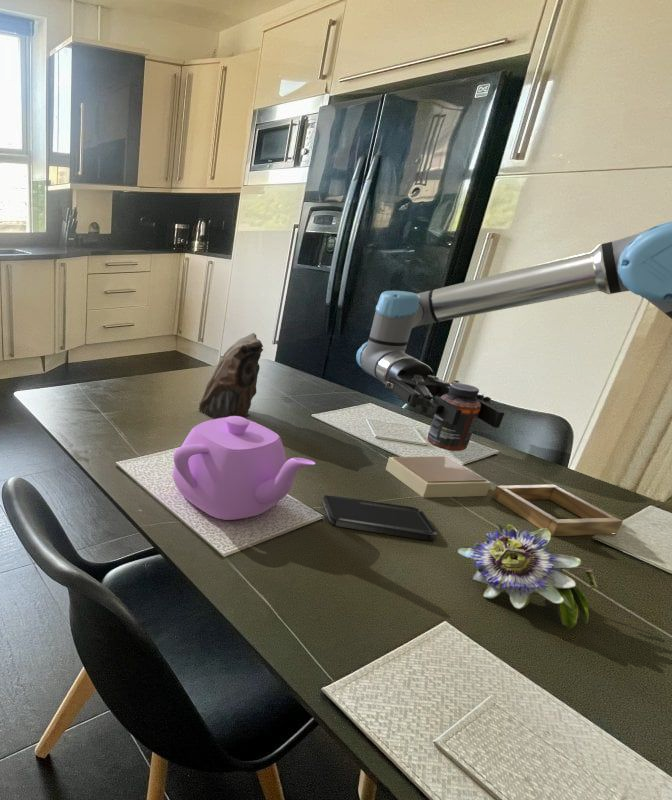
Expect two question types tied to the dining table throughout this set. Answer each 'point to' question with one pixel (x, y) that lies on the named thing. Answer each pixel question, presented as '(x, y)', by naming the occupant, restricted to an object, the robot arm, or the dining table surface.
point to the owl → (233, 380)
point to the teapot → (234, 468)
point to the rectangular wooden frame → (592, 516)
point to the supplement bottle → (461, 433)
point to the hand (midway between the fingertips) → (477, 418)
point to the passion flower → (528, 571)
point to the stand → (437, 476)
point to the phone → (378, 517)
